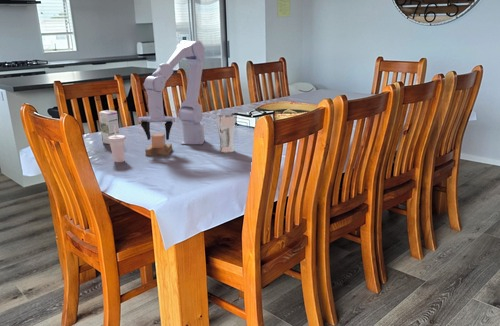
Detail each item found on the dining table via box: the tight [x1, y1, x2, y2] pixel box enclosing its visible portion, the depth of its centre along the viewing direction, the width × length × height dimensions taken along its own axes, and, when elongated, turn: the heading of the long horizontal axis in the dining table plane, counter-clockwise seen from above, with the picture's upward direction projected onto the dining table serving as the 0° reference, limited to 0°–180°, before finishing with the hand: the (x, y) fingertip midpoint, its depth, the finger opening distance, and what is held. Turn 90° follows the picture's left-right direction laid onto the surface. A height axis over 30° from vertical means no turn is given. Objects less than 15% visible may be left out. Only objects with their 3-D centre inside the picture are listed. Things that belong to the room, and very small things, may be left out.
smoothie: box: [108, 125, 126, 163], centre depth 165 cm, size 6×6×14 cm
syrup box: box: [98, 109, 120, 146], centre depth 191 cm, size 6×6×14 cm
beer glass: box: [217, 113, 236, 154], centre depth 178 cm, size 7×7×15 cm
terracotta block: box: [150, 132, 167, 148], centre depth 177 cm, size 4×4×5 cm
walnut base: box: [144, 143, 173, 156], centre depth 178 cm, size 9×9×2 cm
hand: (158, 139), depth 177 cm, fingers open, 7 cm apart
